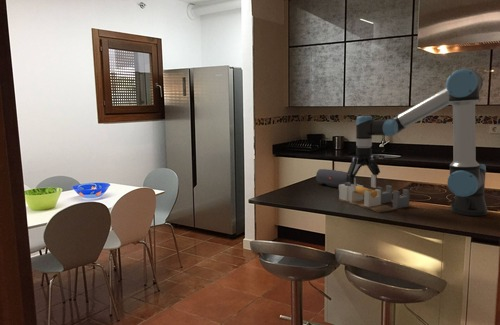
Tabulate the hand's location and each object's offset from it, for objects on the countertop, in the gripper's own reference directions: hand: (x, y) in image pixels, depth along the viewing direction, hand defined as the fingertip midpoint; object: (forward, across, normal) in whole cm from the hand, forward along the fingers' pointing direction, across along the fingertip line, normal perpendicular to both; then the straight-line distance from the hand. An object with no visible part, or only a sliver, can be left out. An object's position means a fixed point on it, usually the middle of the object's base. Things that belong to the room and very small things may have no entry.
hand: (363, 188), depth 212 cm
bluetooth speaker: (+7, -17, -43) cm, 46 cm away
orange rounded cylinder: (+3, 0, -1) cm, 3 cm away
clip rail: (+8, 0, +1) cm, 8 cm away
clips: (+7, 0, -3) cm, 7 cm away
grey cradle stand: (+8, -12, +8) cm, 17 cm away
